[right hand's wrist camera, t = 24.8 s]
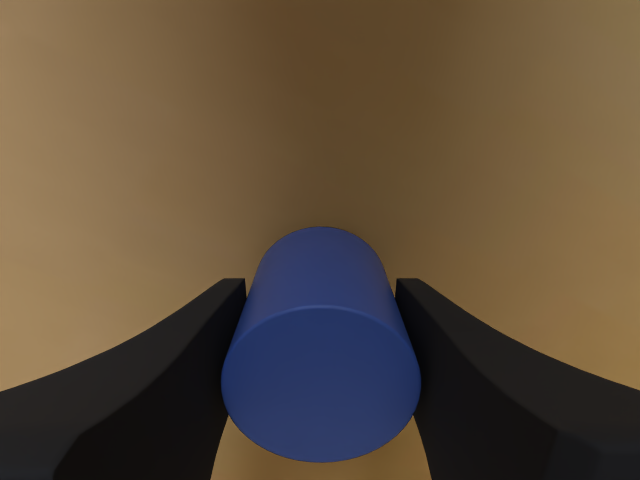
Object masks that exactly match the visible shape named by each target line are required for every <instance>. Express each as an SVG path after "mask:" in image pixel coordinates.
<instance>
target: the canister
mask: <svg viewBox="0 0 640 480" xmlns="http://www.w3.org/2000/svg"><path fill="white" fill-rule="evenodd" d="M420 392H421V374H420V368H419V365H418V362H417V358H416V356H415V353H414V350H413V347H412V345H411V342H410V339H409V336H408V334H407V331H406V328H405V325H404V323H403V320H402V317H401V314H400V312H399V309H398V306H397V303H396V301H395V298H394V295H393V292H392V290H391V287H390V284H389V281H388V278H387V276H386V273H385V270H384V267H383V265H382V263H381V261H380V259H379V257H378V256H377V254H376V253H375V251H374V250H373V249H372V248H371V247H370V246H369V245H368V244H367V243H366V242H364V241H363V240H362V239H360V238H359V237H357V236H356V235H354V234H351V233H349V232H347V231H344V230H341V229H337V228H331V227H310V228H305V229H301V230H298V231H295V232H292V233H290V234H288V235H286V236H284V237H283V238H281V239H280V240H278V241H277V242H276V243H275V244H274V245H272V246H271V247H270V249H269V250H268V251H267V252H266V253H265V255H264V257H263V258H262V260H261V262H260V264H259V266H258V269H257V272H256V274H255V277H254V280H253V283H252V286H251V288H250V291H249V294H248V297H247V300H246V302H245V305H244V308H243V311H242V313H241V316H240V319H239V322H238V325H237V327H236V330H235V333H234V336H233V338H232V341H231V344H230V347H229V350H228V352H227V355H226V358H225V361H224V364H223V368H222V372H221V393H222V397H223V401H224V405H225V407H226V409H227V412H228V414H229V416H230V417H231V419H232V421H233V422H234V423H235V425H236V426H237V427H238V428H239V430H240V431H241V432H242V433H243V434H244V435H246V436H247V437H248V438H249V439H250V440H252V441H253V442H254V443H256V444H257V445H259V446H261V447H262V448H264V449H266V450H268V451H270V452H272V453H275V454H277V455H280V456H283V457H286V458H289V459H294V460H298V461H306V462H321V463H324V462H337V461H343V460H348V459H352V458H356V457H359V456H362V455H365V454H368V453H370V452H372V451H374V450H376V449H378V448H380V447H381V446H383V445H385V444H386V443H388V442H389V441H390V440H392V439H393V438H394V437H395V436H397V435H398V434H399V433H400V432H401V431H402V429H403V428H404V427H405V426H406V425H407V423H408V422H409V421H410V419H411V417H412V415H413V414H414V412H415V410H416V407H417V404H418V401H419V397H420Z"/></svg>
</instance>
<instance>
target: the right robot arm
mask: <svg viewBox="0 0 640 480" xmlns="http://www.w3.org/2000/svg"><path fill="white" fill-rule="evenodd" d="M246 300H247V297H246V285H245V278H224V279H222V280H221V281H219V282H217V283H216V284H214V285H213V286H212V287H210V288H209V289H207V290H206V291H205V292H203V293H202V294H201V295H199V296H198V297H196V298H195V299H194V300H192V301H191V302H189V303H188V304H186V305H185V306H184V307H182V308H181V309H179V310H178V311H176V312H175V313H173V314H171V315H170V316H168V317H167V318H165V319H164V320H162V321H160V322H159V323H157V324H156V325H154V326H153V327H151V328H149V329H147V330H146V331H144V332H142V333H140V334H139V335H137V336H135V337H133V338H131V339H129V340H127V341H125V342H123V343H122V344H120V345H118V346H116V347H114V348H112V349H109V350H107V351H105V352H103V353H100V354H98V355H96V356H94V357H91V358H89V359H87V360H84V361H82V362H80V363H78V364H75V365H73V366H71V367H68V368H66V369H63V370H61V371H58V372H55V373H53V374H50V375H47V376H45V377H42V378H40V379H37V380H34V381H31V382H28V383H25V384H22V385H19V386H16V387H14V388H11V389H7V390H4V391H1V392H0V480H210V479H211V475H212V470H213V466H214V461H215V457H216V453H217V450H218V446H219V443H220V439H221V436H222V433H223V430H224V427H225V424H226V421H227V418H228V415H229V414H228V412H227V409H226V407H225V405H224V401H223V397H222V393H221V372H222V368H223V364H224V361H225V358H226V355H227V352H228V350H229V347H230V344H231V341H232V338H233V336H234V333H235V330H236V327H237V325H238V322H239V319H240V316H241V313H242V311H243V308H244V305H245V302H246ZM395 301H396V303H397V306H398V309H399V312H400V314H401V317H402V320H403V323H404V325H405V328H406V331H407V334H408V336H409V339H410V342H411V345H412V347H413V350H414V353H415V356H416V358H417V362H418V365H419V368H420V374H421V392H420V397H419V401H418V404H417V407H416V410H415V412H414V414H413V415H414V418H415V421H416V424H417V427H418V430H419V433H420V436H421V439H422V443H423V446H424V449H425V453H426V457H427V461H428V465H429V469H430V474H431V478H432V480H640V390H637V389H634V388H631V387H628V386H625V385H622V384H619V383H616V382H613V381H610V380H607V379H604V378H602V377H599V376H596V375H594V374H591V373H588V372H585V371H583V370H580V369H578V368H575V367H573V366H570V365H568V364H566V363H563V362H561V361H559V360H556V359H554V358H551V357H549V356H547V355H545V354H542V353H540V352H538V351H536V350H534V349H532V348H530V347H528V346H526V345H524V344H522V343H520V342H518V341H516V340H514V339H512V338H510V337H508V336H506V335H504V334H502V333H501V332H499V331H497V330H495V329H494V328H492V327H490V326H489V325H487V324H485V323H484V322H482V321H480V320H479V319H477V318H475V317H474V316H472V315H471V314H469V313H468V312H466V311H465V310H463V309H462V308H460V307H459V306H457V305H456V304H454V303H453V302H451V301H450V300H449V299H447V298H446V297H444V296H443V295H442V294H440V293H439V292H437V291H436V290H435V289H433V288H432V287H430V286H429V285H428V284H426V283H425V282H423V281H421V280H420V279H418V278H397V281H396V293H395Z"/></svg>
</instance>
